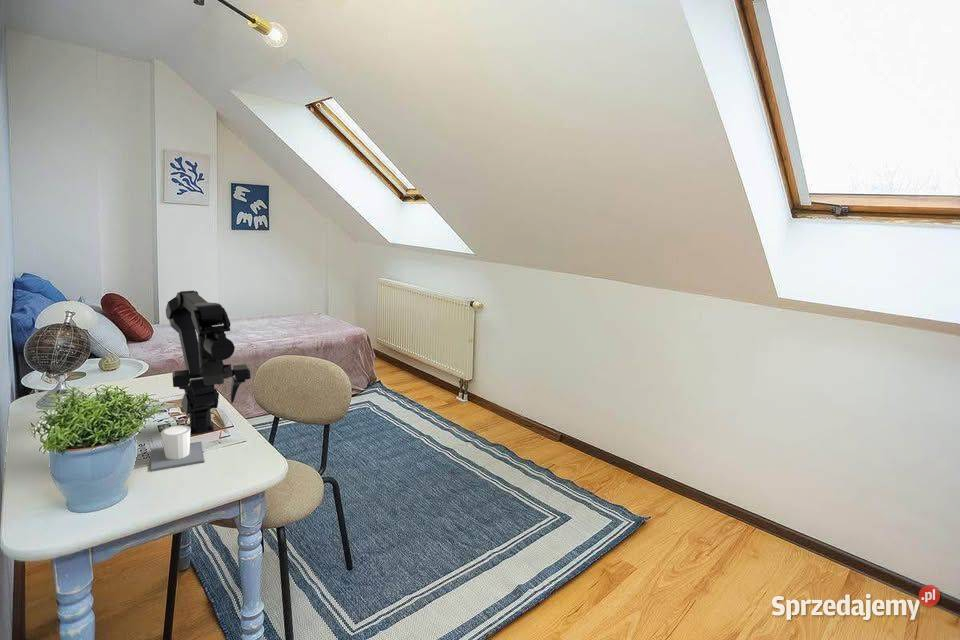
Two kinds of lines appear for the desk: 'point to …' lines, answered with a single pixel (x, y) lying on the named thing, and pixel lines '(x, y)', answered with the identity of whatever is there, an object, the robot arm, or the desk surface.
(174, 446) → the white faceted cylinder
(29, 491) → the desk surface
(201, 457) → the coaster mat
